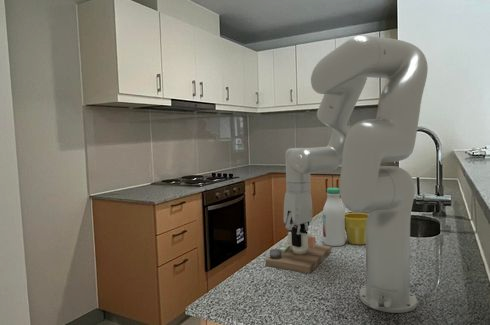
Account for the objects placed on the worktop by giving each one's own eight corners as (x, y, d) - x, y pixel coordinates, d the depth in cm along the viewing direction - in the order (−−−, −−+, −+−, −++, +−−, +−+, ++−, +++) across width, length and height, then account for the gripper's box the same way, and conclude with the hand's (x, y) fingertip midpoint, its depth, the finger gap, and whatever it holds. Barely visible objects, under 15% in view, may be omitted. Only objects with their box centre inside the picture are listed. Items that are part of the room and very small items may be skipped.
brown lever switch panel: (309, 273, 100) (309, 260, 100) (265, 265, 108) (265, 253, 107) (331, 252, 117) (330, 240, 117) (292, 246, 125) (291, 235, 124)
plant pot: (342, 237, 134) (342, 211, 133) (371, 238, 131) (371, 212, 130) (342, 245, 124) (342, 218, 123) (373, 247, 121) (373, 219, 120)
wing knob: (286, 252, 113) (286, 233, 112) (293, 248, 116) (292, 230, 116) (311, 257, 107) (310, 237, 107) (317, 252, 111) (317, 234, 111)
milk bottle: (349, 242, 127) (348, 187, 126) (338, 248, 122) (337, 190, 120) (330, 238, 132) (329, 186, 131) (319, 244, 127) (318, 188, 125)
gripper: (302, 183, 119) (304, 236, 121) (272, 189, 107) (274, 249, 109) (322, 184, 114) (323, 240, 115) (293, 191, 102) (294, 254, 104)
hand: (299, 244), depth 112 cm, fingers closed on wing knob, 2 cm apart
